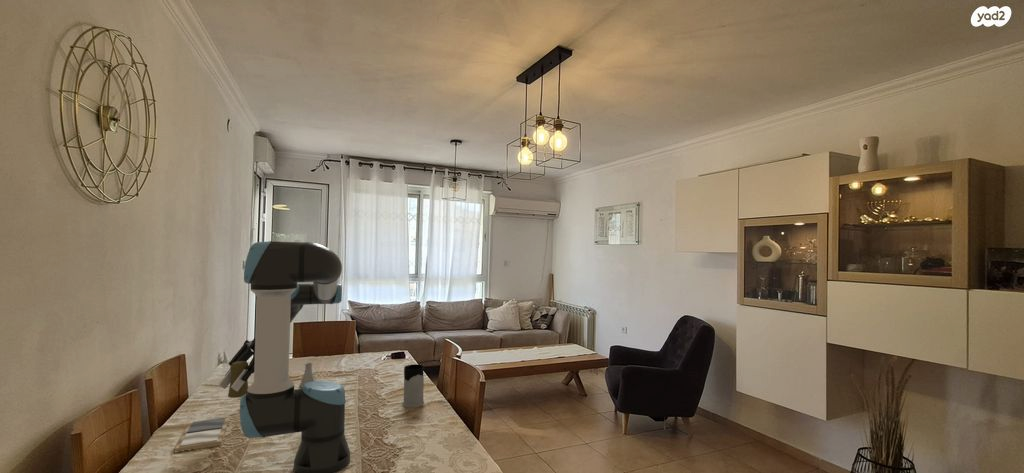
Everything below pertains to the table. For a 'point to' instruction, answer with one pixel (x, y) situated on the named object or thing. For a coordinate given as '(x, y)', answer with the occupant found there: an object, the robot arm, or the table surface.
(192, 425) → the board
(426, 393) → the table surface
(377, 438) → the table surface
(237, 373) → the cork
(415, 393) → the glass holder
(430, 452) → the table surface
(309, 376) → the flask
